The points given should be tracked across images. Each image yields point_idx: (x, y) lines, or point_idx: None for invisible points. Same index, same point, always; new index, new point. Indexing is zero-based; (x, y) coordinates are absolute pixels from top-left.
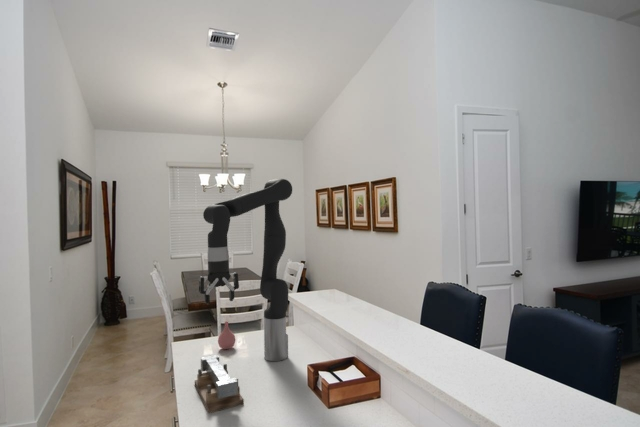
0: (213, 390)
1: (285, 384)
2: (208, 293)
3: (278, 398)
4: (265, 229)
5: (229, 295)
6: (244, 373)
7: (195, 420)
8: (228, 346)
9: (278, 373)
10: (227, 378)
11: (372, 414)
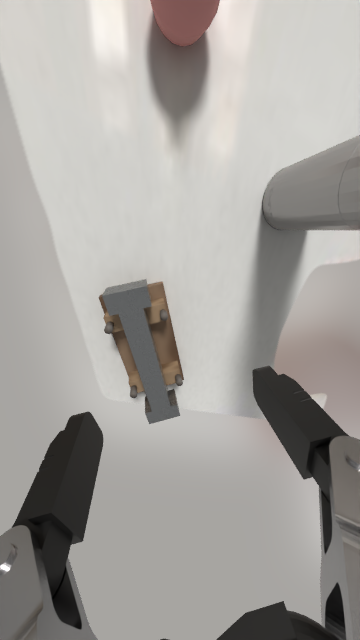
0: (140, 384)
1: (253, 335)
2: (66, 570)
3: (229, 370)
4: None
5: (275, 400)
6: (201, 271)
7: (119, 399)
8: (186, 43)
9: (259, 292)
10: (164, 405)
11: None
